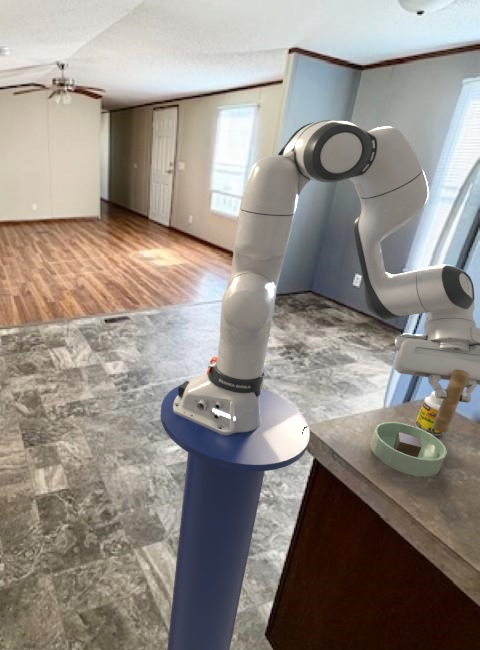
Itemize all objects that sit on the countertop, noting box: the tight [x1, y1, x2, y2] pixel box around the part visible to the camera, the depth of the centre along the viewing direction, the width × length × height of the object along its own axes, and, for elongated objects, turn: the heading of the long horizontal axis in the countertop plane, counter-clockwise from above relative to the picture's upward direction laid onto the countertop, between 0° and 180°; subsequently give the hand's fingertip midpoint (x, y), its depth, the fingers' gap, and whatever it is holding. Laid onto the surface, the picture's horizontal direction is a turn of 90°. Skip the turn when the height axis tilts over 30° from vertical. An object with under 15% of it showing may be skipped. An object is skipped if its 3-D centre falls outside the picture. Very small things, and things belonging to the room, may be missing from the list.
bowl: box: [370, 421, 448, 478], centre depth 96 cm, size 13×13×4 cm
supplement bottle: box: [414, 390, 443, 436], centre depth 104 cm, size 6×6×10 cm
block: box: [394, 432, 421, 458], centre depth 96 cm, size 4×4×4 cm
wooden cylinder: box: [433, 369, 469, 433], centre depth 89 cm, size 3×3×14 cm
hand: (452, 399), depth 88 cm, fingers closed on wooden cylinder, 2 cm apart
